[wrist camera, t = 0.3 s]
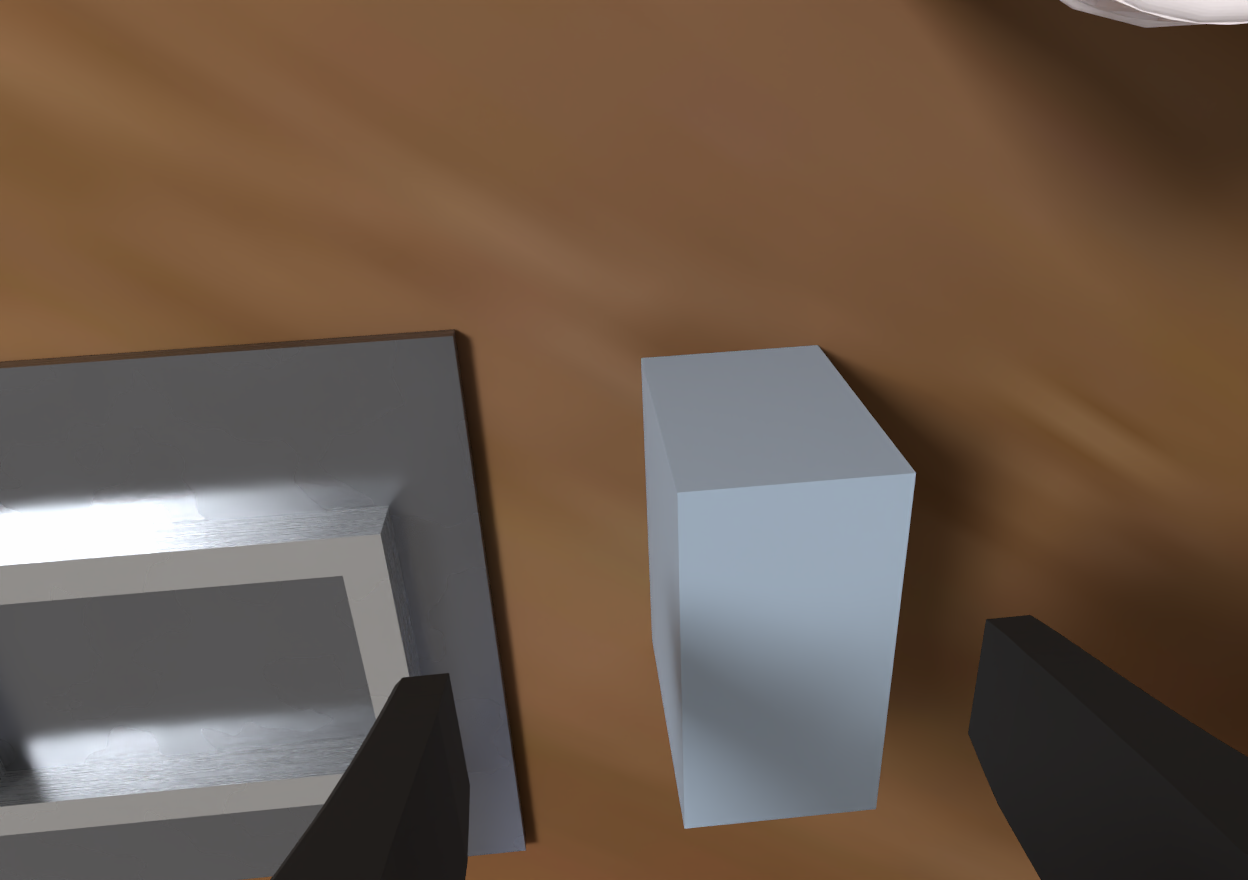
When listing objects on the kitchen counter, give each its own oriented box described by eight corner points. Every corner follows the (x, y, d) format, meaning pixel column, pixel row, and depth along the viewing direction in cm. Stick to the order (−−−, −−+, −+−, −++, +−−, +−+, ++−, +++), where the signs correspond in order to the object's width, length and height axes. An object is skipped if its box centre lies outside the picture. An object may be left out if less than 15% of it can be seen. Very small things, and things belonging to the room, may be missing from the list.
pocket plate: (525, 838, 26) (524, 927, 24) (-32, 895, 26) (-93, 993, 23) (454, 329, 19) (441, 380, 17) (-330, 385, 18) (-465, 447, 16)
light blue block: (800, 624, 24) (875, 808, 19) (651, 638, 24) (684, 828, 18) (816, 343, 20) (916, 473, 15) (640, 357, 20) (677, 493, 15)
